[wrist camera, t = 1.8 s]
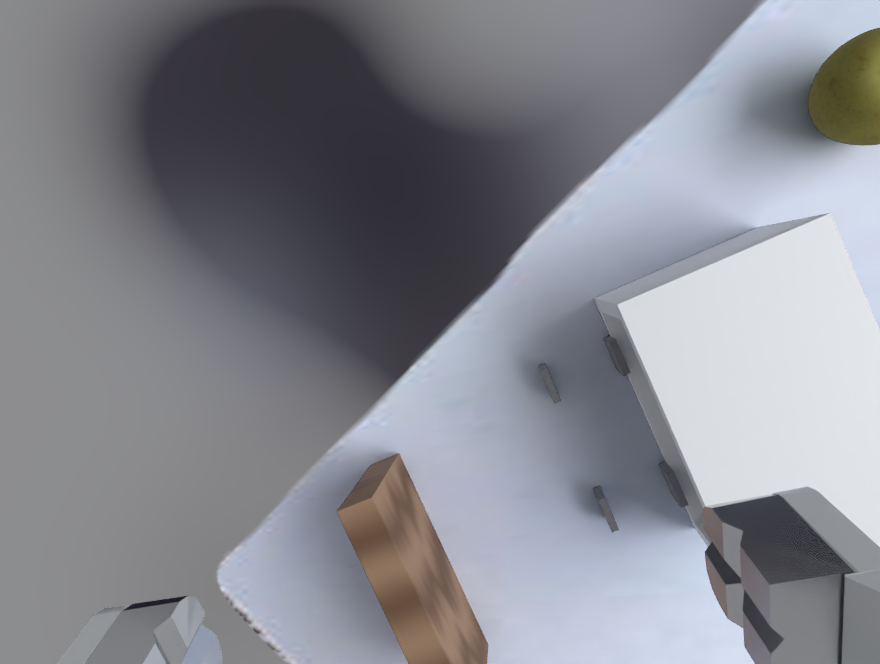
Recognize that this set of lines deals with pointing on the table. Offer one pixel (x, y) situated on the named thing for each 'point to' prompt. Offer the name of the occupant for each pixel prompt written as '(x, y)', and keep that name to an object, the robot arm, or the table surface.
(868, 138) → the apple
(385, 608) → the door
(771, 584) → the robot arm
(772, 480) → the cabinet
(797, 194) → the table surface
